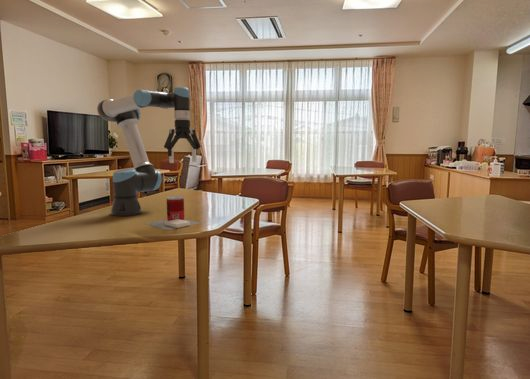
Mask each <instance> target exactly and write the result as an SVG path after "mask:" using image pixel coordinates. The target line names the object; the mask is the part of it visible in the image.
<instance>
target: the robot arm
mask: <svg viewBox="0 0 530 379" xmlns="http://www.w3.org/2000/svg"><path fill="white" fill-rule="evenodd" d="M190 97H191V96H190V89H189V88H188V87H183V86H181V87H180V86H177V87H174V88H173V92H164V91H157V90H155V91H154V90H148V89H136V91H135V92H134V93H132V94H130V95H125V96H121V97H118V98H115V99H112V98H107V99H103V100H102V101H100V102H99V103H98V105H97V108H96V109H97V114H98V115H99V116H100V118H101V119H103V120H104V121H107V122H111V123H112V122H113V123H115V122H116V124H117V127H118V128H119V129H121V132H122V134H123V137H124V140H125V142H126V146H127V149H128V150H127V151H128V152H129V156H130V159H131V162H132V165H133V168H125V169H124V168H123V169H118V170H116V171H114V172H113V174H112V187H113V188H112V189H113V202H112V205H111V209H110V214H111V216H114V217H115V216H116V217H128V216H135V215H140V214H142V207H141V204H140V202H139V199H138V193H142V192H152V191H156V190H158V189H159V188H160V187H161V183H162V174H161V173H162V172H160V170H158V169H155V167H154V164H152V163H151V162H150V160H149V158H148V157H149V156H148V155H147V152H146V148H145V145H144V142H143V139H142V136H141V134H140V130H139V128H138V124H139V121H140V119H141V110H140V109H144V108H148V107H149V108H150V107H153V108H160V109H166V110H167V109H173V111H174V113H173V114H174V116H173V117H174V128H170V129H169V132H168V135H167V139H166V140H165V142H164V145H163V148H164V149H166V150H167V155H168V158H169V160H168V161H169V163H170V164H174V163H175V161H174V160H175V158H174V156H175V155H174V149H173V148H174V147H175V145H176V144H177V143H178V140H180V139H186V140H187V142H188V143H189V145H190V146H191V162H192V163H196V162H197V155H198V149H199V148H201V145H200V141H199V139H198V136H197V134H196V130H195V129H190V128H191V121H190V119H191V112H190V111H191V109H190V108H191V107H190V105H191V102H190V101H191V100H190Z"/></svg>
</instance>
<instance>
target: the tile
mask: <svg viewBox="0 0 530 379" xmlns="http://www.w3.org/2000/svg"><path fill="white" fill-rule="evenodd" d="M165 225H168V226H171V227H175V228H177V229H181V228H180V227H182V228H185V227H184V226H186V227H189V225H190V222H188V221H184V220H180V219H175V220H170V221H165Z"/></svg>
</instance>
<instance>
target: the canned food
mask: <svg viewBox="0 0 530 379" xmlns="http://www.w3.org/2000/svg"><path fill="white" fill-rule="evenodd" d="M166 217H167V218H166V220H168V221H170V220H175V219H180V220H184V219H185V198H184V196H181V195H179V196H178V195H175V196H174V195H172V196H167V197H166Z"/></svg>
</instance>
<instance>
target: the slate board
mask: <svg viewBox="0 0 530 379" xmlns="http://www.w3.org/2000/svg"><path fill="white" fill-rule="evenodd" d="M165 221H168V219H164V220H158V221H154V222H153V221H152V222H147V223H146V225H147V226H148V225H149V226H151V227H154V228H158V229H162V230H165V231H172V230H177V229H178V228H175V227H171V226H168V225H165ZM184 221H188V222H190V225H189V226H190V227H191V226H193V225H194V226H195V225H199V224H201V222H198V221H194V220H189V219H185V218H184ZM189 226H188V227H189ZM186 227H187V226H184V227H180V228H179V229H181V228H186Z"/></svg>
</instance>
